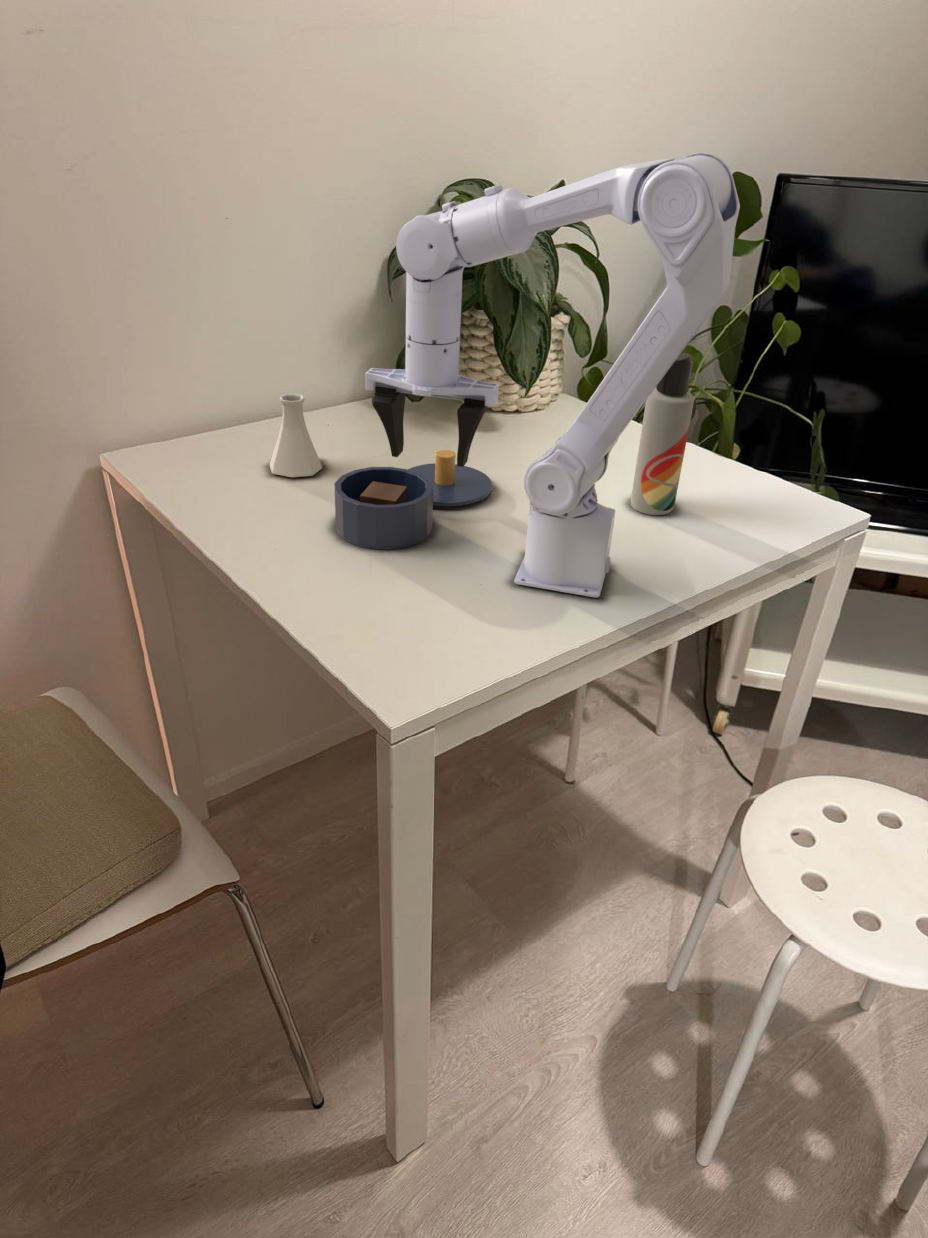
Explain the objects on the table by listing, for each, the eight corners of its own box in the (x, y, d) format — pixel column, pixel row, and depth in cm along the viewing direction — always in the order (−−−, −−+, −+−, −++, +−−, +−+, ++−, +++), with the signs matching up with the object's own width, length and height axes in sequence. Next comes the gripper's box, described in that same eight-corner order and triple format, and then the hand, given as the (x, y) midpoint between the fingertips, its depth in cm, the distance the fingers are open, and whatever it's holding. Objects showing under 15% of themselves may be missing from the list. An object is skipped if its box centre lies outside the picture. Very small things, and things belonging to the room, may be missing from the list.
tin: (442, 514, 114) (444, 474, 111) (415, 556, 104) (415, 514, 102) (355, 500, 116) (355, 461, 113) (321, 540, 107) (319, 498, 104)
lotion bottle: (673, 518, 116) (702, 363, 105) (628, 512, 117) (653, 358, 106) (673, 500, 121) (701, 350, 110) (631, 494, 122) (654, 345, 111)
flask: (318, 480, 121) (315, 408, 115) (264, 477, 121) (258, 405, 115) (326, 459, 127) (323, 389, 122) (274, 456, 127) (269, 386, 121)
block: (406, 519, 111) (407, 486, 109) (395, 534, 108) (395, 501, 105) (373, 513, 112) (372, 481, 110) (360, 529, 109) (360, 495, 106)
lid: (501, 478, 124) (503, 443, 121) (478, 516, 114) (481, 479, 111) (413, 465, 127) (413, 430, 124) (383, 501, 116) (383, 464, 114)
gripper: (354, 338, 93) (356, 462, 100) (491, 355, 90) (483, 481, 98) (377, 322, 99) (377, 440, 106) (506, 337, 96) (498, 457, 103)
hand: (429, 458), depth 102 cm, fingers open, 7 cm apart
